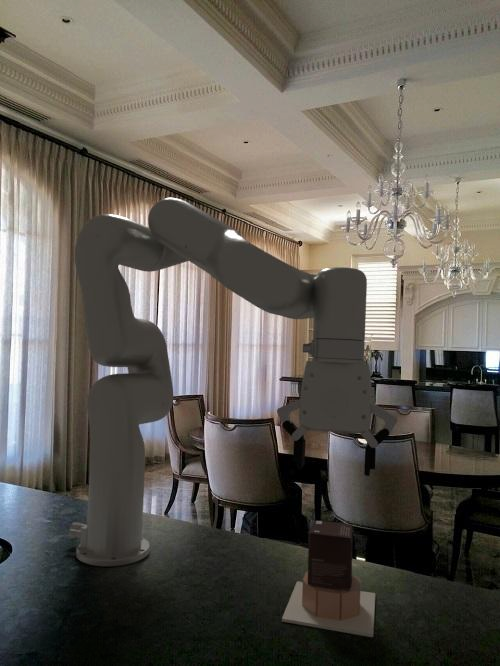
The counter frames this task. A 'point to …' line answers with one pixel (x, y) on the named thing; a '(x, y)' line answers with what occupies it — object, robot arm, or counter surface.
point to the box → (330, 555)
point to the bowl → (332, 600)
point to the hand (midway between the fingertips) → (333, 470)
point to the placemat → (353, 625)
